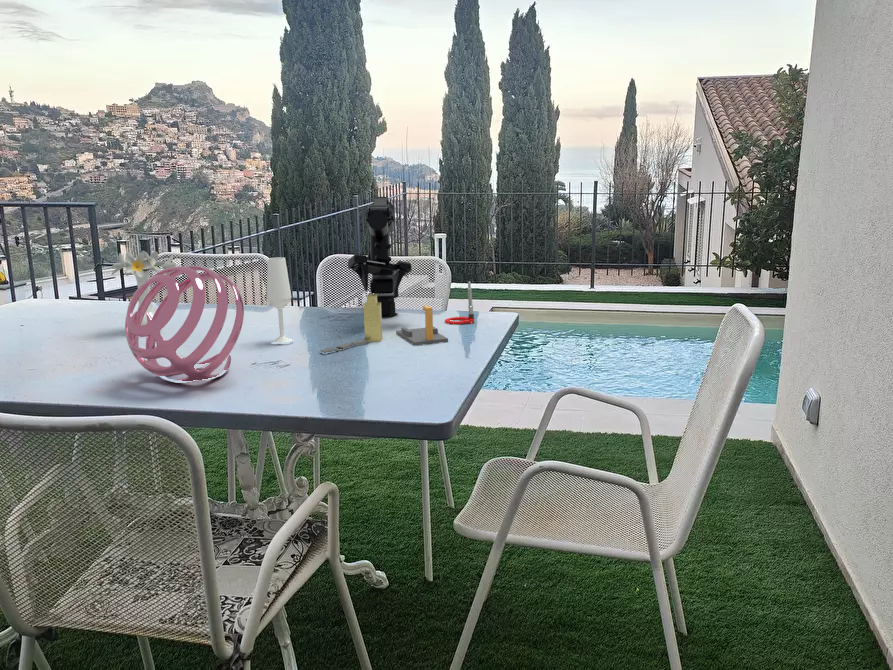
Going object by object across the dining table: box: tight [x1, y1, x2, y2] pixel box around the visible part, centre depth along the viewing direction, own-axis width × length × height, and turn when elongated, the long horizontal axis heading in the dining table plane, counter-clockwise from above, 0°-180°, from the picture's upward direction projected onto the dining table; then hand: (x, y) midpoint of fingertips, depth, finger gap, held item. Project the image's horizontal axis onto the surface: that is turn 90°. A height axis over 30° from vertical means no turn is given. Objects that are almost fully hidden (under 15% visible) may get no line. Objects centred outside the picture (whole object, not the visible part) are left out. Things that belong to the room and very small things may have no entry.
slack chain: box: [319, 338, 369, 353], centre depth 196 cm, size 4×16×1 cm, turn 144°
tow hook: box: [444, 281, 475, 325], centre depth 226 cm, size 8×13×9 cm
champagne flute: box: [266, 256, 293, 343], centre depth 202 cm, size 7×7×24 cm
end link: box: [362, 293, 383, 343], centre depth 204 cm, size 4×4×13 cm
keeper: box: [395, 305, 449, 346], centre depth 206 cm, size 16×10×10 cm, turn 22°
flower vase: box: [111, 250, 177, 325], centre depth 218 cm, size 13×18×25 cm
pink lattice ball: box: [124, 265, 245, 381], centre depth 169 cm, size 28×28×27 cm
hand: (380, 292), depth 214 cm, fingers open, 9 cm apart
